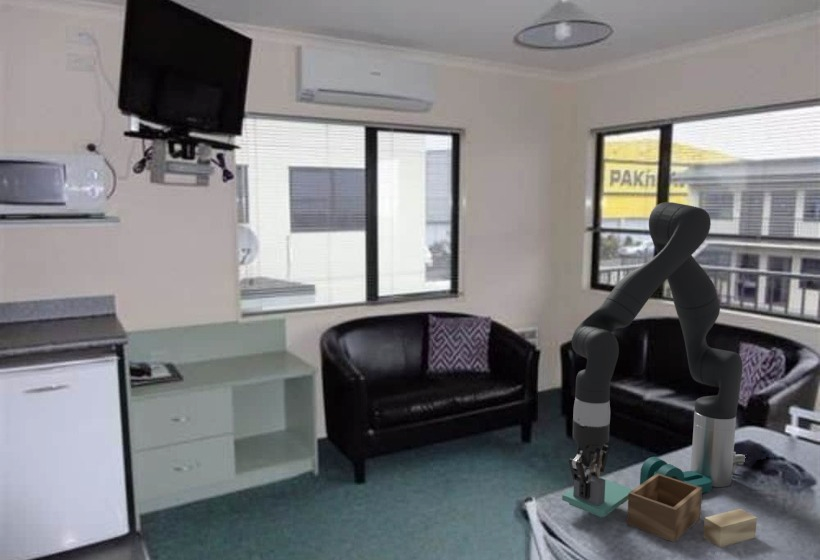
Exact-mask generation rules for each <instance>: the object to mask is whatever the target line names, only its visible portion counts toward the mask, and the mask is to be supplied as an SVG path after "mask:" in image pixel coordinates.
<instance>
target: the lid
mask: <svg viewBox="0 0 820 560" xmlns="http://www.w3.org/2000/svg"><path fill="white" fill-rule="evenodd" d="M586 474H587V473H586V472H585V476H586ZM579 485H580V482H579V481H575V480H574V479H573V488H571V489H569V490H568V491H566V492H565V493H563V494H562V498H561V499H562V501H563V502H566V503H568V505H570V506H572V507H574V508H577V509H579V510H582V511H584V512H586V513H590V514H592V515H594V516H597V517H599V518H603V517H604V518H605V517H606V516H607V515H608V514H610V513H611V512H613V511H615V510H616V509H617V508H619V507H620V506H621V505H623V504H625V503H626V502H628V494H629V492H631V491H632V490H634V489H635V488H631V487H629V486H626V485H622V484H619V483H617V482H614V481H611V480H608V479H605V478H603V477H601V476H600V477H596V476H593V475H591V481H590V498H589V499H587V500H586V499H584V498H581V497H580V496H579Z"/></svg>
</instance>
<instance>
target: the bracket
mask: <svg viewBox="0 0 820 560" xmlns="http://www.w3.org/2000/svg"><path fill="white" fill-rule="evenodd" d="M639 473H640V475H639V485H641V484H642V483H644V482H645V481H647V480H648V479H649V478H651V477H652V476H654V475H655V474H657V473H658V474H661V475H664V476H667V477H671V478H674V479H677V480H680V481H683V482H686V483H689V484H692V485H695V486H698V487H701V488H702V494H704V493H708V492H711V491H712V490H713V489H712V488H713V486H712V478H711V477H707V476H704V475H701V474H699V473H697V472H695V471H691V470H685V471H683V470H682V469H681V468H678V467H677V466H675V465H672V464H670V463H667V462H666V461H665V460H663V459H661V458H659V457H657V456H651V457H648V458H647V459H645V461H644V462H643V463H642V465H641V468H640V472H639Z"/></svg>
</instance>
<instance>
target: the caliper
mask: <svg viewBox="0 0 820 560" xmlns="http://www.w3.org/2000/svg"><path fill="white" fill-rule="evenodd" d="M736 453H737V452H736V451H734V454H733V468H732V475H735V471H736V469H737V466H743V465H744V463H746V462H745V458H746V457H745V455H746V454H742V453H741V454H739V453H737V454H736Z"/></svg>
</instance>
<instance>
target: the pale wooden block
mask: <svg viewBox="0 0 820 560" xmlns="http://www.w3.org/2000/svg"><path fill="white" fill-rule="evenodd" d="M757 521H758V518H757V517H756V516H755V515H752V514H751V513H748V512H747V511H746V510H743V509H742V508H736V509H733V510H728V511H725V512H721V513H718V514H712V515H710V516H705V517H704V522H703V523H704V527H703V538H704V539H706V540H707V541H708V542H710V543H712V544H713V545H716V546H717V547H719V548H723V547H726V546H730V545H733V544H736V543H741V542H743V541H747V540H750V539H753V538H756V535H757V534H756V533H757Z"/></svg>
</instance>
